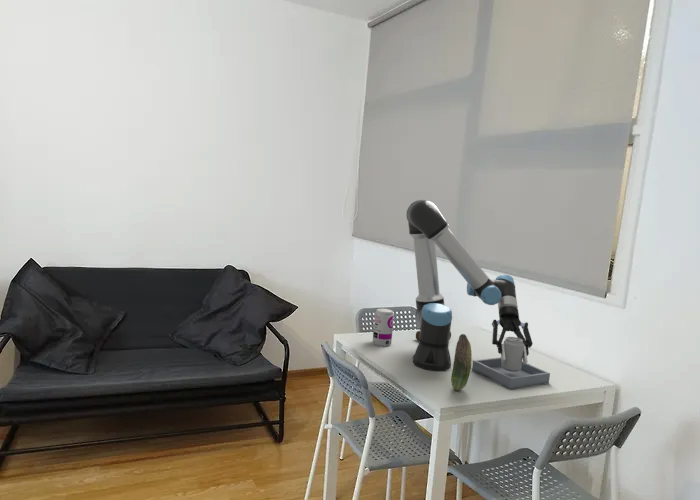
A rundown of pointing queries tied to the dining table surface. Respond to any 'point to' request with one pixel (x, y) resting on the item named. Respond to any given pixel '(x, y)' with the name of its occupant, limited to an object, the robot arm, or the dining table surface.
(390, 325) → the supplement can
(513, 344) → the can
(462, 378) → the vegetable
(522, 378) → the box
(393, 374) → the dining table surface
